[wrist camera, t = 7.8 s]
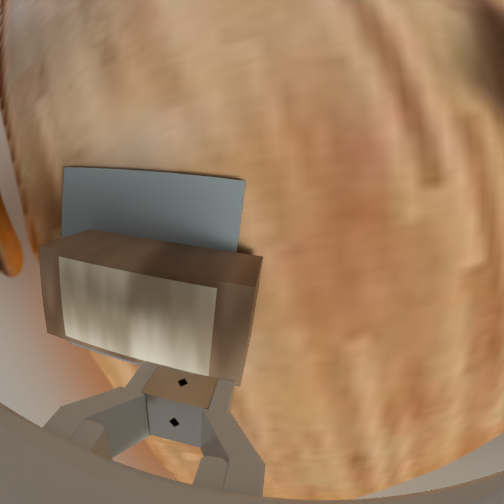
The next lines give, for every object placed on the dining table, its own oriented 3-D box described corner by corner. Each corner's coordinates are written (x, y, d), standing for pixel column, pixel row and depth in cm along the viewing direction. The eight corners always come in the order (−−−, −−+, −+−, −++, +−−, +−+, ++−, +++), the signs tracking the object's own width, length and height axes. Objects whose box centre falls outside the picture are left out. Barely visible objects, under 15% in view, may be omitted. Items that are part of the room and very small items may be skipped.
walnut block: (263, 256, 17) (89, 229, 18) (255, 287, 12) (38, 246, 13) (250, 336, 18) (91, 301, 19) (239, 386, 13) (47, 332, 14)
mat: (69, 166, 18) (64, 167, 17) (245, 180, 17) (244, 180, 16) (74, 339, 21) (70, 343, 20) (222, 378, 20) (220, 383, 19)
